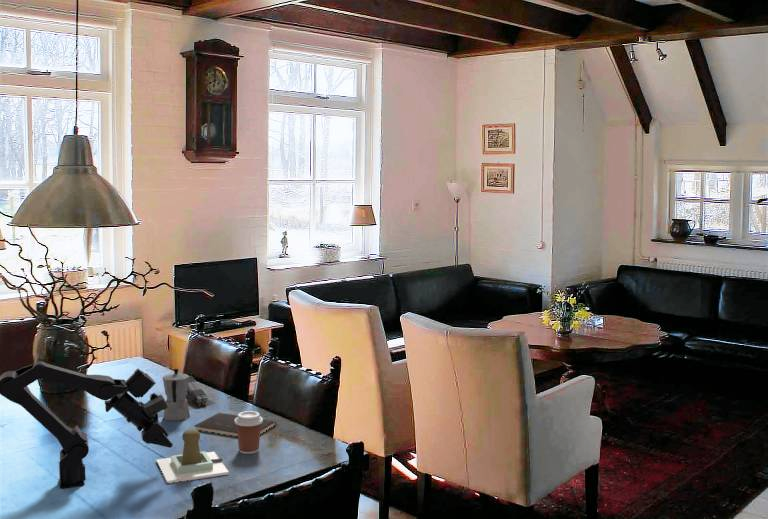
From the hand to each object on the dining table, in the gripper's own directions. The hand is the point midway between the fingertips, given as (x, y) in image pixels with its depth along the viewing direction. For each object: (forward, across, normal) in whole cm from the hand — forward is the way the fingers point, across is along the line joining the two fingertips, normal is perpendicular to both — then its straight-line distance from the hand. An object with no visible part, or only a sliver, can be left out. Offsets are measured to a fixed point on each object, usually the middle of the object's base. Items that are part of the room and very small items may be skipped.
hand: (169, 441), depth 242 cm
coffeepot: (+13, +49, 0) cm, 51 cm away
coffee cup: (+25, +9, -12) cm, 29 cm away
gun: (+20, +71, -6) cm, 74 cm away
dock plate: (+11, 0, +2) cm, 11 cm away
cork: (+11, 0, +2) cm, 11 cm away
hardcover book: (+26, +32, -12) cm, 43 cm away
